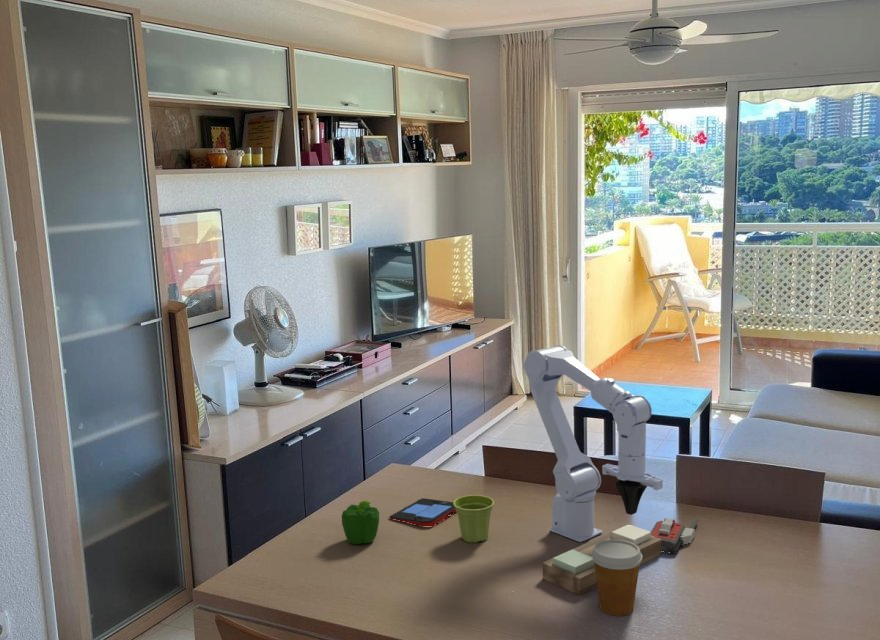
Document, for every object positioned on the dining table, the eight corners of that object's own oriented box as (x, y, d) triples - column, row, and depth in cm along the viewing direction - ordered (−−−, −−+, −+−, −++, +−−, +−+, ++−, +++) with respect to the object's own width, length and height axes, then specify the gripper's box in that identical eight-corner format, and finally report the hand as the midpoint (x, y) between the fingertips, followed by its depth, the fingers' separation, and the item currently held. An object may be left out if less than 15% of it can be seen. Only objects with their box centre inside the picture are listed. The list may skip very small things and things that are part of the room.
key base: (542, 578, 177) (542, 562, 177) (624, 540, 195) (624, 526, 194) (580, 595, 170) (580, 578, 169) (661, 554, 187) (661, 539, 187)
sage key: (553, 571, 176) (552, 558, 176) (572, 562, 180) (572, 549, 180) (575, 581, 172) (575, 567, 171) (594, 572, 176) (594, 558, 175)
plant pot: (448, 543, 196) (447, 507, 195) (462, 527, 205) (461, 492, 203) (487, 548, 193) (486, 511, 191) (500, 532, 201) (499, 497, 200)
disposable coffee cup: (585, 597, 169) (585, 540, 167) (633, 594, 170) (633, 537, 168) (598, 622, 159) (598, 561, 157) (648, 618, 160) (649, 557, 158)
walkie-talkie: (684, 559, 185) (700, 525, 203) (684, 540, 184) (701, 508, 202) (643, 552, 189) (663, 520, 207) (643, 533, 188) (663, 502, 206)
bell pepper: (336, 540, 199) (334, 499, 198) (364, 530, 205) (363, 490, 203) (357, 551, 193) (355, 509, 191) (386, 541, 198) (384, 499, 197)
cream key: (611, 544, 188) (611, 531, 188) (628, 537, 192) (628, 524, 192) (634, 553, 184) (634, 539, 183) (651, 545, 188) (651, 532, 187)
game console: (421, 502, 223) (421, 493, 223) (462, 511, 216) (462, 503, 216) (387, 520, 212) (387, 512, 211) (429, 531, 204) (429, 522, 204)
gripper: (593, 449, 188) (593, 508, 190) (648, 464, 177) (647, 527, 179) (613, 442, 192) (613, 500, 194) (668, 457, 181) (668, 518, 183)
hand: (631, 512), depth 187 cm, fingers closed
